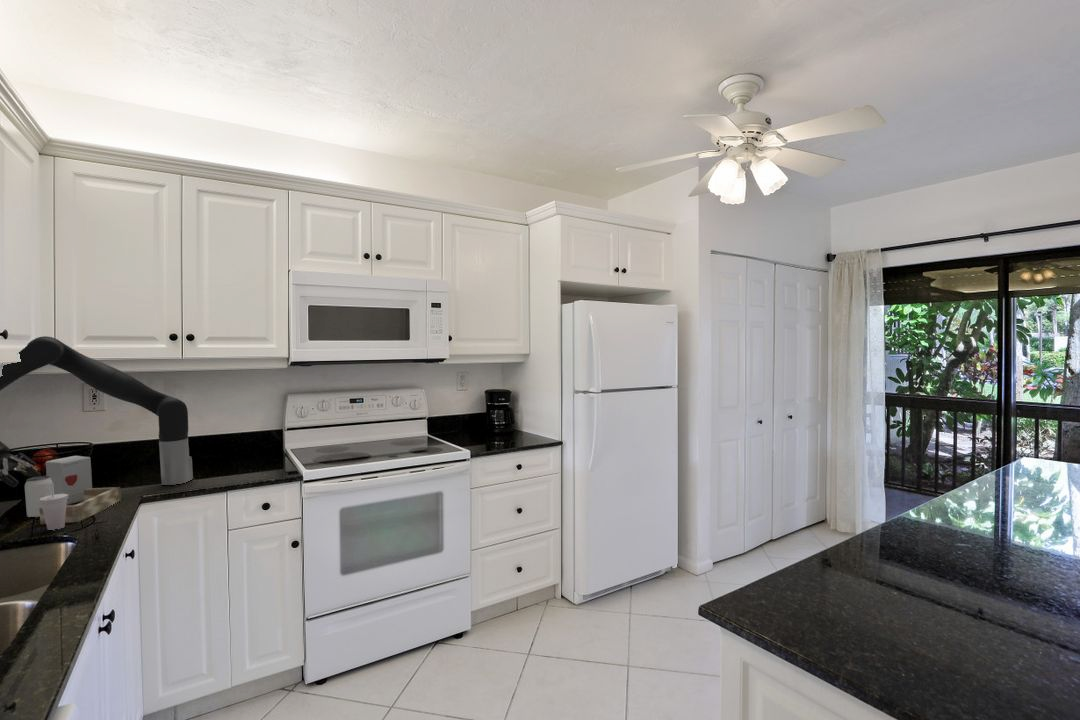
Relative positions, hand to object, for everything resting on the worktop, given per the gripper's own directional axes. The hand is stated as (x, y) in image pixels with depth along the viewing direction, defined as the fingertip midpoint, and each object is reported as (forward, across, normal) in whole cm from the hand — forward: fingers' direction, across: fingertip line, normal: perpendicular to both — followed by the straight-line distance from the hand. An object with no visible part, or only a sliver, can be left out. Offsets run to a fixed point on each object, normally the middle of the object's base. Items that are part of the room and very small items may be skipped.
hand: (27, 481), depth 166 cm
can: (+10, 0, +6) cm, 12 cm away
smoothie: (+20, -14, -4) cm, 25 cm away
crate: (+19, 0, -3) cm, 19 cm away
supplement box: (+10, +14, +6) cm, 18 cm away
